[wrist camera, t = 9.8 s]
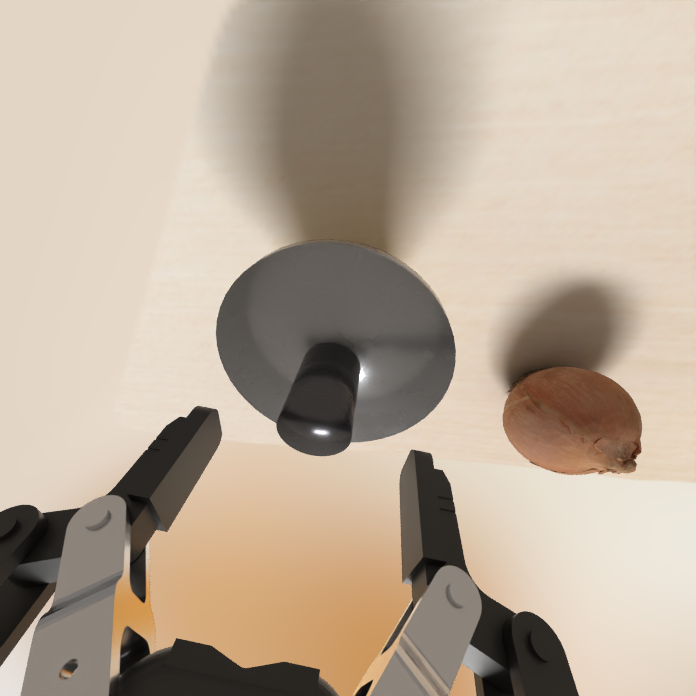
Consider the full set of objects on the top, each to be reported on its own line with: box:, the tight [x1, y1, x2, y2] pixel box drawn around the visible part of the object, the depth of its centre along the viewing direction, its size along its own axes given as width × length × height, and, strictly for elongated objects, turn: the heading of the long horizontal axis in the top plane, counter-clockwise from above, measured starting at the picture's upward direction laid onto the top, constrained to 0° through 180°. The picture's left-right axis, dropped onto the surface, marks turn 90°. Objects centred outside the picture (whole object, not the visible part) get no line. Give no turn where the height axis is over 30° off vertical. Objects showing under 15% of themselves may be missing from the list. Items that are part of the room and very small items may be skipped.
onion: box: [503, 366, 642, 475], centre depth 24 cm, size 10×9×10 cm
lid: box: [216, 239, 456, 456], centre depth 14 cm, size 13×13×6 cm
